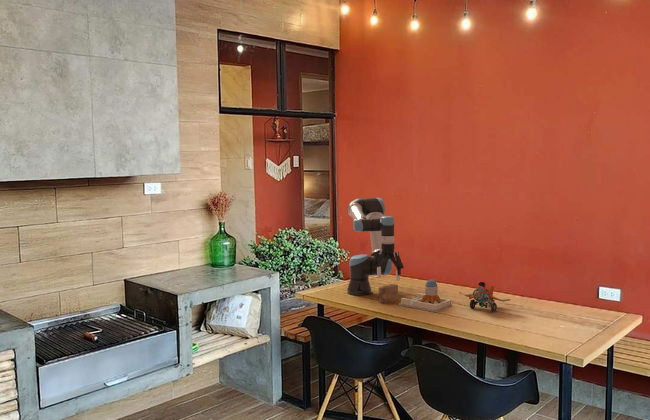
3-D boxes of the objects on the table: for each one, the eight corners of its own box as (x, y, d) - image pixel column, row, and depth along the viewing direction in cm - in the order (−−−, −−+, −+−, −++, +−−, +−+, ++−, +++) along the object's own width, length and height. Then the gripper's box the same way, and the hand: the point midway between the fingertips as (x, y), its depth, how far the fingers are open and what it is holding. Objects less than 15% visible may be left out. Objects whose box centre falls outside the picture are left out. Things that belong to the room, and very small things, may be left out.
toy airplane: (448, 304, 317) (452, 277, 320) (466, 308, 335) (469, 282, 337) (501, 312, 299) (504, 283, 301) (516, 316, 317) (519, 288, 319)
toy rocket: (439, 303, 333) (443, 279, 329) (440, 311, 323) (444, 287, 318) (421, 301, 334) (425, 276, 329) (421, 309, 323) (425, 284, 319)
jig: (398, 305, 332) (398, 298, 332) (416, 299, 345) (416, 292, 345) (435, 312, 316) (435, 305, 315) (452, 305, 329) (452, 298, 328)
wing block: (378, 302, 339) (378, 287, 338) (391, 298, 348) (391, 283, 347) (385, 304, 336) (385, 288, 335) (398, 299, 344) (397, 284, 344)
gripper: (367, 242, 344) (367, 277, 346) (401, 245, 327) (402, 282, 329) (374, 240, 350) (375, 275, 351) (409, 243, 333) (409, 280, 334)
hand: (388, 279), depth 340 cm, fingers open, 13 cm apart
